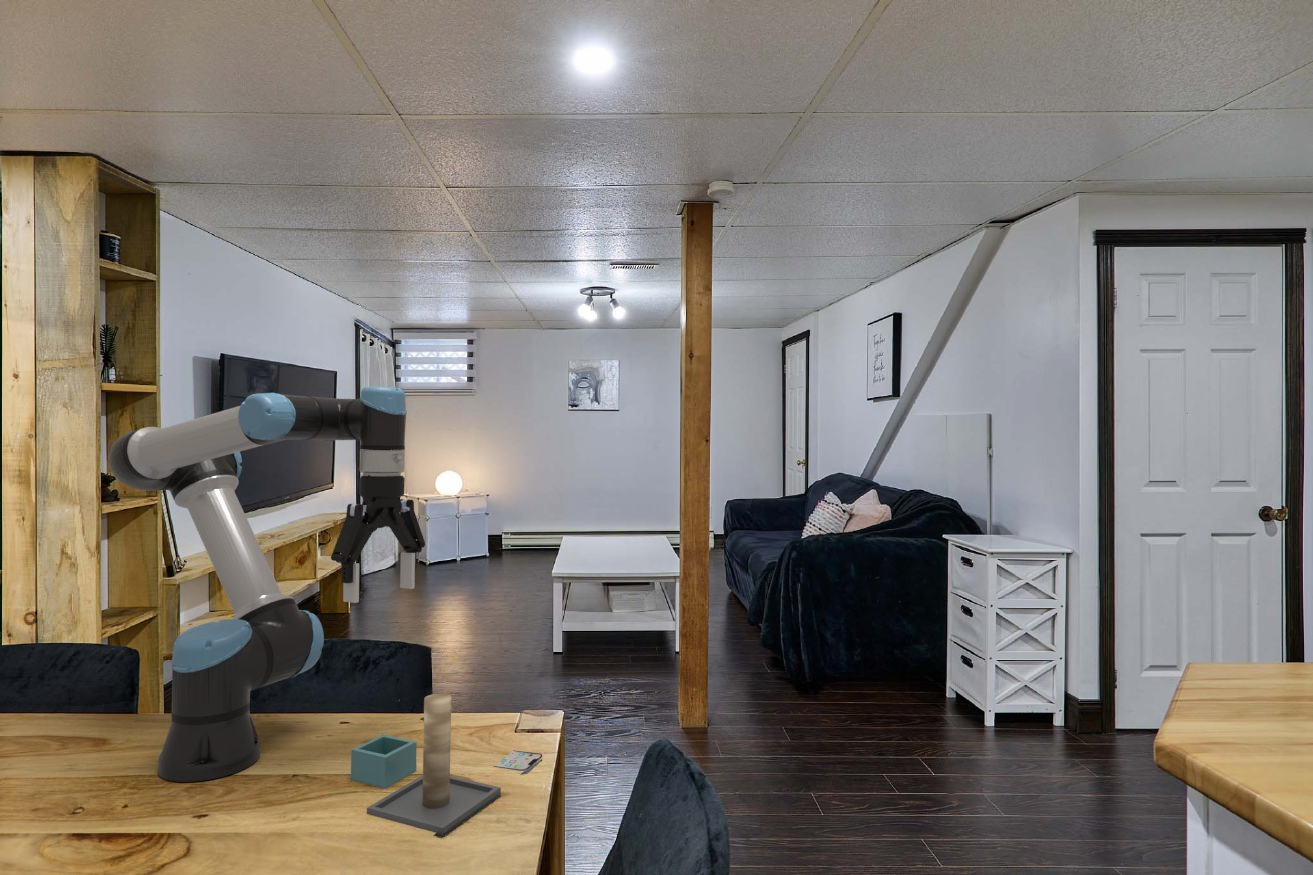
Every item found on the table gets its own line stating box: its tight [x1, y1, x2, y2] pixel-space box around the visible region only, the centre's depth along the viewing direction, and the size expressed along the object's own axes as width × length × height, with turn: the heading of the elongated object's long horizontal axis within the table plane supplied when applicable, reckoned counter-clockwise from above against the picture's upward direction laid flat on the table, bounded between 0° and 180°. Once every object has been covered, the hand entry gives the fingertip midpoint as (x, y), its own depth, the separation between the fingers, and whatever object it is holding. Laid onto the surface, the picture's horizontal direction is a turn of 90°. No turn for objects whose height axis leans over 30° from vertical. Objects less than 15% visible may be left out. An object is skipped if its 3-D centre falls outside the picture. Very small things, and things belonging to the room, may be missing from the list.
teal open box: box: [350, 734, 418, 789], centre depth 126 cm, size 7×7×6 cm
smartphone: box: [493, 750, 543, 776], centre depth 134 cm, size 7×1×15 cm
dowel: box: [422, 693, 452, 809], centre depth 117 cm, size 4×4×16 cm
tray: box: [366, 774, 502, 839], centre depth 117 cm, size 14×14×1 cm
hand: (380, 594), depth 135 cm, fingers open, 13 cm apart
